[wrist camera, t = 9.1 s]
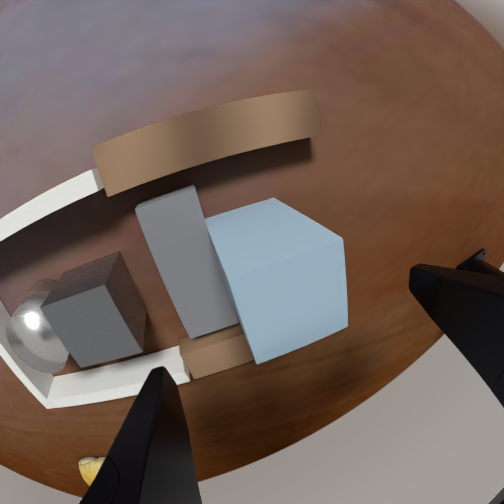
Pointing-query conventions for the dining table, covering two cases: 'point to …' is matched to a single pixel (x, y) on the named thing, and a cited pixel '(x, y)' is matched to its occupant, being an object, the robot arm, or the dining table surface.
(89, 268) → the block
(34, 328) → the silver rounded piece
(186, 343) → the slot rails
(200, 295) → the light blue block
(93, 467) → the bread roll
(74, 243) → the dining table surface
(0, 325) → the white bevelled strip
